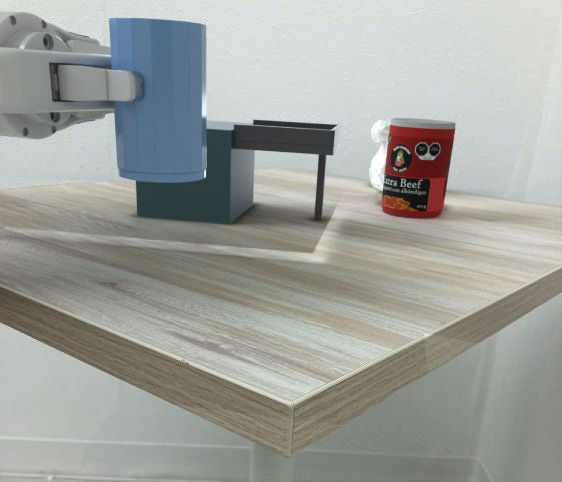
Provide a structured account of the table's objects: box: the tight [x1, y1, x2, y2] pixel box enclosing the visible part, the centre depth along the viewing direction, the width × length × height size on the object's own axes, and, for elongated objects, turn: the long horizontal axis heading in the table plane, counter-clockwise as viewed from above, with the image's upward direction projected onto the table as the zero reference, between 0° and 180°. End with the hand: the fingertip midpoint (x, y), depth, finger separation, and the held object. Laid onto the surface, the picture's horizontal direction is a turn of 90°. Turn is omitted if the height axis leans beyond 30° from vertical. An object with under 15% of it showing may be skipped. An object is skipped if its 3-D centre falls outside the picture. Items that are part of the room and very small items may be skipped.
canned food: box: [380, 117, 456, 219], centre depth 80 cm, size 8×8×11 cm
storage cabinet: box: [135, 118, 344, 225], centre depth 70 cm, size 20×12×10 cm, turn 81°
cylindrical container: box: [108, 17, 207, 183], centre depth 46 cm, size 6×6×10 cm
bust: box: [368, 118, 392, 192], centre depth 95 cm, size 12×8×11 cm
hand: (170, 87), depth 45 cm, fingers closed on cylindrical container, 6 cm apart
